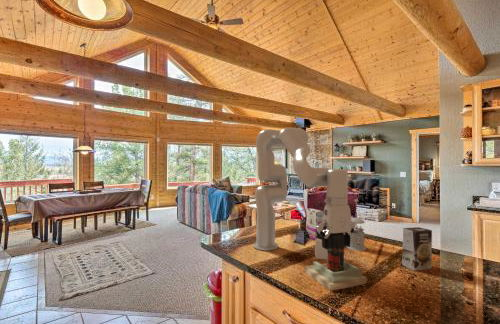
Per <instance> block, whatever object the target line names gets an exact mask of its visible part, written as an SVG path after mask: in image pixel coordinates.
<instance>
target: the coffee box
mask: <svg viewBox="0 0 500 324" xmlns="http://www.w3.org/2000/svg"><path fill="white" fill-rule="evenodd" d="M432 238H433V230H431V229H427V228H424V227H420V226H416V227H415V226H413V227H403V228H402V258H401V259H402V260H401V262H402V263H401V264H402V266H404V267H406V268H408V269H409V270H412V271H422V270H431V269H432V259H433V258H432V257H433V256H432V251H433V250H432V249H433V248H432V246H433V245H432V243H433V242H432V241H433V239H432Z"/></svg>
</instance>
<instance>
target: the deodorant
mask: <svg viewBox="0 0 500 324" xmlns="http://www.w3.org/2000/svg"><path fill="white" fill-rule="evenodd" d="M344 234H345V233H337V234H332V233H330V235H329V236H328V239H329V249H328V250H327V260H326V262H327V269H329V270H331V271H332V272H339V271H344V261H345V245H344Z"/></svg>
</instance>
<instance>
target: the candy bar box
mask: <svg viewBox="0 0 500 324" xmlns="http://www.w3.org/2000/svg"><path fill="white" fill-rule="evenodd" d="M323 214H324V210H319V209H315V208H306V222H305V223H306V225H305V226H306V230H307V232H308V234H309V237H310V238H309V237H308V238H309V239H311V240H313V241H315V239H317V228H316V226H317V225H319V224H320V223H322V222H323ZM306 230H305V231H306ZM322 230H323V228H322Z"/></svg>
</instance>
